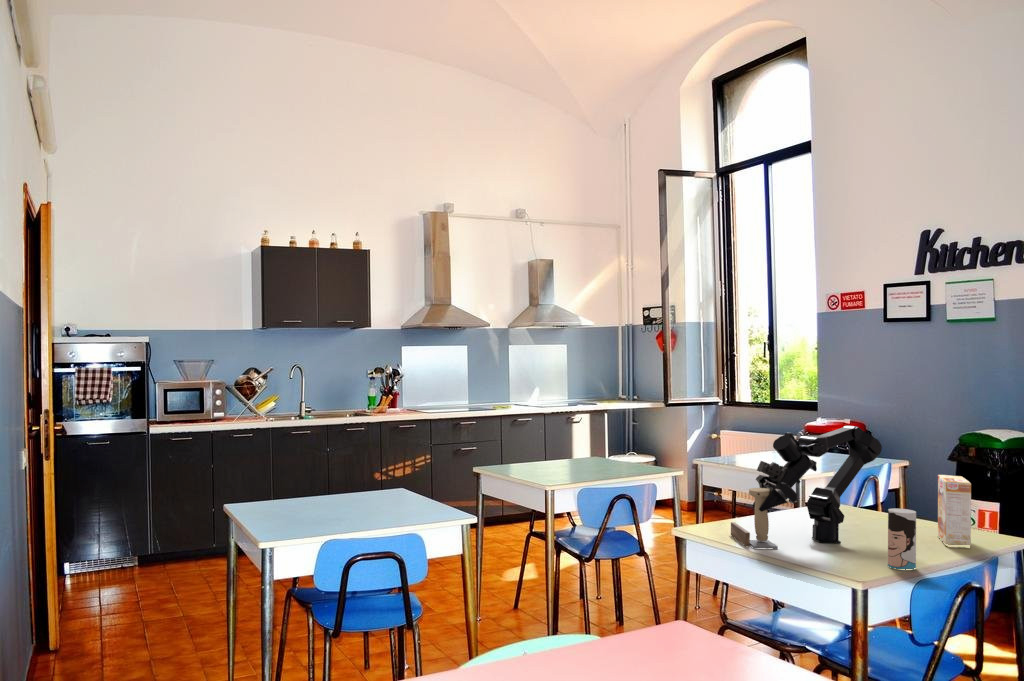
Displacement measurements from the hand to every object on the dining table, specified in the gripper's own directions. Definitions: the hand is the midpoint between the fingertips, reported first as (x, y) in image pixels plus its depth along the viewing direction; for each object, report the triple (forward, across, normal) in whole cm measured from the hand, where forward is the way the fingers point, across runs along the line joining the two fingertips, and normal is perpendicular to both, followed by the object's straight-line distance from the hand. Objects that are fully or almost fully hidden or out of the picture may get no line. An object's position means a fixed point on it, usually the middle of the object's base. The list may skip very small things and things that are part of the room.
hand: (756, 508), depth 242 cm
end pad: (+7, +1, +8) cm, 11 cm away
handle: (+5, -1, +8) cm, 10 cm away
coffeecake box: (-36, -2, +52) cm, 64 cm away
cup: (-13, +26, +29) cm, 41 cm away
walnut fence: (+10, -6, +6) cm, 12 cm away
